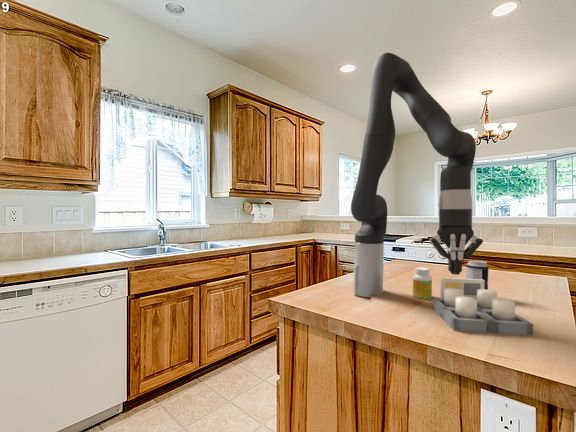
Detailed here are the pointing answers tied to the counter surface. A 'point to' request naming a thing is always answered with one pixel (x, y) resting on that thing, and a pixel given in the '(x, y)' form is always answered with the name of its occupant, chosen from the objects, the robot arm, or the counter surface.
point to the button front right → (503, 309)
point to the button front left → (466, 307)
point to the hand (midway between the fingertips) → (455, 273)
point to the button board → (484, 316)
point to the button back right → (485, 298)
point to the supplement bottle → (422, 284)
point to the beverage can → (478, 271)
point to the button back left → (451, 296)
